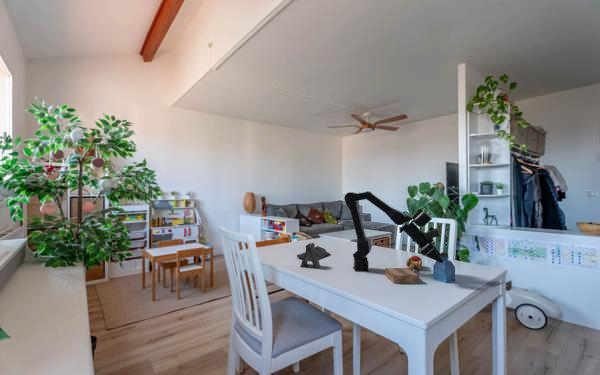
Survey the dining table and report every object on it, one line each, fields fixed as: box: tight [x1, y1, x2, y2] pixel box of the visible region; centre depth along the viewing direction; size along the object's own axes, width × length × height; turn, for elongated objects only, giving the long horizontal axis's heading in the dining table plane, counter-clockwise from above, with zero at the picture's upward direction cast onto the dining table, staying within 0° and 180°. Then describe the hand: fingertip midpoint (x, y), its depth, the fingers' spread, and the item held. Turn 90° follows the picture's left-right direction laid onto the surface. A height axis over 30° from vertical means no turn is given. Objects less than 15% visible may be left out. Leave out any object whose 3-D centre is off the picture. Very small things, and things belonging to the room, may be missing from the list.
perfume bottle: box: [432, 251, 456, 284], centre depth 127 cm, size 6×6×12 cm
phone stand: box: [300, 242, 321, 270], centre depth 148 cm, size 9×6×12 cm, turn 69°
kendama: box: [405, 255, 423, 272], centre depth 142 cm, size 8×6×18 cm
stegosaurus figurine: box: [296, 245, 332, 262], centre depth 169 cm, size 15×22×5 cm
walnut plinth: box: [384, 267, 420, 284], centre depth 127 cm, size 11×11×4 cm
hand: (441, 259), depth 127 cm, fingers open, 9 cm apart
